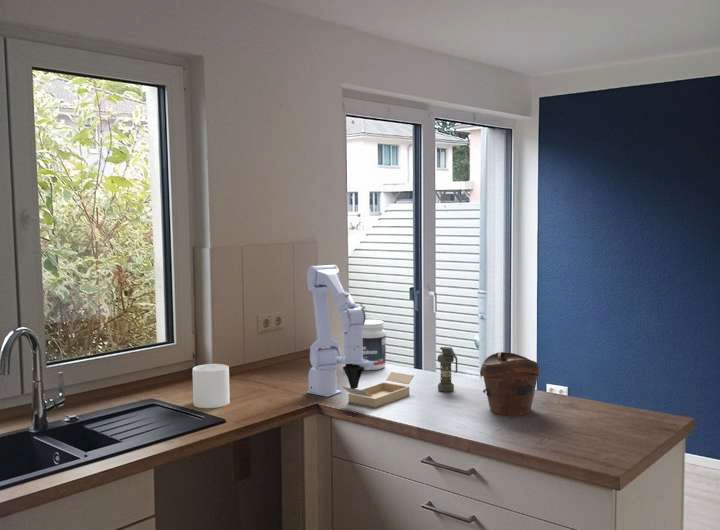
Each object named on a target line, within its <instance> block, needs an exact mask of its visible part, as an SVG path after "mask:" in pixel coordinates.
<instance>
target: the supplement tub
mask: <svg viewBox="0 0 720 530" xmlns="http://www.w3.org/2000/svg"><path fill="white" fill-rule="evenodd" d="M384 323H385V322H384V321H383V320H381V319H380V320H379V319H366V320H365V323H364V325H362V342H363V359H366V360H369V361H373V362H374V368H371V369H368V368H366V367H365V368H364V370H363V371H377V370H381V369H383V368H385V366H386V363H387V360H386V358H387V356H386V355H387V354H386V353H387V352H386V350H387V349H386V348H387V347H386V345H387V343H386V331H385V329H384V327H385V324H384Z"/></svg>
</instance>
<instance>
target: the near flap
mask: <svg viewBox="0 0 720 530" xmlns="http://www.w3.org/2000/svg"><path fill="white" fill-rule="evenodd" d="M342 388H343V390H345V391H346V392H348V394H349V393H353V394H358V395H364V396H369V397H372V396H371V395H370V394H369V393H368V392H367V391H363V390H361V389H358V388H355V389H352V388H350V387H348V386H347V387H346V386H342Z"/></svg>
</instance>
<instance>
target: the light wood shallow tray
mask: <svg viewBox="0 0 720 530" xmlns="http://www.w3.org/2000/svg"><path fill="white" fill-rule="evenodd" d="M360 390H363V391H367V392H368V393H369V394H370V395H371V396H372V397H369V396H364V395H358V394H353V393H349V392H348V403H349V404H353V405H357V406H362V407H368V408H373V409H377V408H380V407H382V406H385V405H388V404H391V403H393V402H395V401H399V400H401V399H404V398H406V397H409V396H410V386H406V385H402V384H396V383H395V384H394V383H392V382H383V381H382V382H379V383H377V384H374V385H372V386H371V385H370V386H368V387H365V388H361V389H360Z"/></svg>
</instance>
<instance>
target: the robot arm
mask: <svg viewBox="0 0 720 530" xmlns="http://www.w3.org/2000/svg"><path fill="white" fill-rule="evenodd" d="M339 269H340V268H339V267H338V266H337V265H336V264H334V263H333V264H328V265H325V264H324V265H309V266H308V269H307V272H306V281H307V288H308V291H310V292H312V302H313V303H312V304H313V311H314V320H315V330H316V340H315V341H314V342H313V343H312V344H311V345H310V347H309V351H310V352H309V361H310V364H311V366H312V367H310V369H309V370H308V390H307V392H306V393H308V394H313V395H316V396H317V395H318V396H323V397H331V396H335V395H338V394H341V393H343V390H341V389H338V383H337V381H338V380H337V368H339V365H340V364H342V365H344V366H342V369H343V372H344V373H345V375H346V377H347V380H348V383H349V388H352V389H358V388H359V387H358V386H359V382H360V380H361V379H360V378H361V376H362V374H363V371H365V370H364V368H365V367H366V368H368V369H371V368H374V362H373V361H369V360H366V359H363V342H362V325H364V323H365V320H367V316H366V311H365V309H364V307H362V306H360V305H357V304H356V302H355V300H354V299H353V297H352V295H351V294H350V293H349V292H348V291H345V290H344V288H343V285H342V284H341V282H340V270H339ZM328 291H330V292H331V294H332V295H333V297H334V299H333V302H334V304H335V306H336V308H337V310H338V311H339V313H340V322H341V325H342V332H344V335H343V336H344V356H342V352H341V349H340V344H339V342H337V341H336V340H334V339H333V338H332V331H331V330H332V328H331V327H332V326H331V320H330V310H329V300H328V293H329V292H328Z"/></svg>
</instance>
